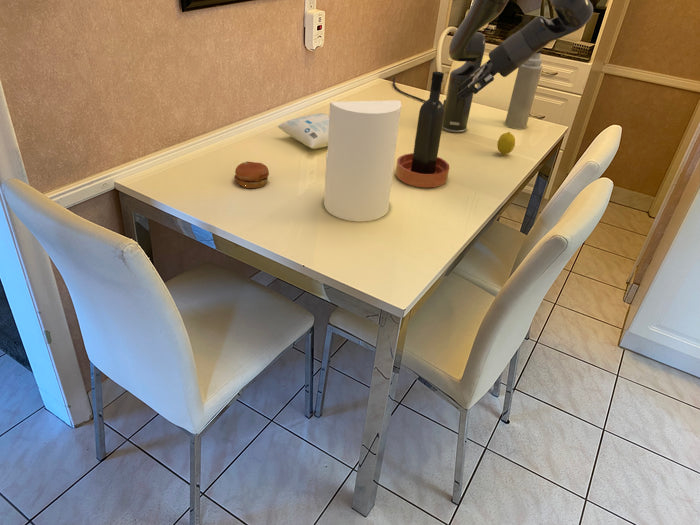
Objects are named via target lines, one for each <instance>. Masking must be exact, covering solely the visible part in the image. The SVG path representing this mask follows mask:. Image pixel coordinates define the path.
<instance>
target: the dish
mask: <svg viewBox="0 0 700 525" xmlns="http://www.w3.org/2000/svg"><path fill="white" fill-rule="evenodd" d="M412 159H413V152H410V153H404V154H402V155H400V156H399V157H398V158H397V159H396V166H395V176H396V178H397V179H398V180H399V181H401V182H403V183H405V184H407V185H410V186H413V187H418V188H436V187H440V186H442V185H444V184H446V183H447V181H448V178H449V172H450V164H449V163H448V161H446V160H445V159H443V158H442V157H439V156H437V161H436V167H435V172H434V174H422V173H417V172H412V171H411V166H412Z"/></svg>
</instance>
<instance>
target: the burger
mask: <svg viewBox="0 0 700 525" xmlns="http://www.w3.org/2000/svg"><path fill="white" fill-rule="evenodd" d="M234 173H235V175H233V176H234V180H235V182H236V183H237V184H238V185H239V186H241V187H242V188H247V189H257V188H262V187H264V186H265V185H266V184H267V182H268V178H269V176H270V172H269V169H268V167H267V165H265V164H264V163H262V162H255V161H245V162H244V161H243V162H240V163H239V164H238V165H237V166H236V167H235V171H234ZM245 185H246V186H245Z"/></svg>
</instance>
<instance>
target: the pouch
mask: <svg viewBox="0 0 700 525" xmlns="http://www.w3.org/2000/svg"><path fill="white" fill-rule="evenodd" d="M276 127H277V128H278V129H279V130H282V132H283V133H285V134H287V135H288V136H289V137H291V138H292V139H294V140H297V141H298V142H299V143H302V144H303V145H305V146H306V147H308V148H310V149H313V150H317V149H322V148H325V147H328V133H329V115H328V114H327V113H322V112H321V113H314V114H313V113H312V114H310V115H304V116H300V117H296V118H292V119H289V120H286V121H284V122H281V123H279V124H277V125H276Z"/></svg>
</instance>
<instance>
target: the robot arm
mask: <svg viewBox="0 0 700 525" xmlns="http://www.w3.org/2000/svg"><path fill="white" fill-rule="evenodd" d="M509 1H510V0H473V3H472V4H471V6H470V8H469V10H468V12H467V14H466V15H465V17H464V19H463V20H462V22H461V23H460V24H459V26H458V28H457V29H456V31H455V32H454V34H453V36H452V38H451V40H450V43H449V46H448V54H449V57H450V59H451V60H453V61H455V62H463V64H462V65H461V66H460V67H457V68H455V69H452V71H451V72H450V73H449V78H448V83H447V84H448V85H447V91H446V96H445V99H444V100H443V103H442V104H443V106H444V110H445V115H444V120H443V126H442V130H443V131H446V132H449V133H453V134H454V133H455V134H458V133H459V134H460V133H461V134H462V133H465V132H466V131H467V130H468V129H467V128H468V122H469V118H470V113H471V108H472V103H473V98H474V95H476V94H478V93H479V92H480V91H481V90H483V89H484V88H486V86H488V85H489V84H490V83H492V82H494V81H495V76H496V75H497V74H499V75H500V76H501V77H502V78H506V77H508V76H509V75H510V74H512V73H513V72H514V71H516V70H518V68H519V67H520V66H521V65H523V64H524V63H525V62H527V61H528V60H529V59H530V58H531V57H532V56H533V55H534V54H536V53H537V52H538V51H540V50H543V49H544V48H545V47H546V46H548V45H549V44H550V43H552V42H555V41H557V40H559V39H561V38H564V37H566V36H569V35H570V34H572V33H575V32H577V31H579V30H580V29H582V28H583V27H584V26H586V24H587V23H588V22H589V21H590V20H591V18H592V16H593V14H594V6H593V3H592V2H591V1H590V0H549V3H550V5H551V7H552V10H553V12H554V13H555V14H556V16H555V17H554V18H550V19H548V18H546V17H544V16H542V15H539V16H536V17H534V18H533V19H531V20H530V21H529V22H528V23H527V24H525V25H524V26H523V27H522V28H520V29H519V30H517V31H516V32H515V33H513V34H511V35H510V36H508V37H507V38H506V39H505V40H503V41H502V42H501V43H500V44H498V45H497V46H496V47H495V48H493V49H491V51H490V52H489V53H488V58H489V59H488V60H487V61H486V62H485V63H483V64H482V62H483V58H484V55H485V50H486V38H485V35H484V34H483V33H482V32H478V31H480V30H481V29H483V28H484V27H485V26H487V25H488V24H489V23H491V22H492V21H493V20H495V19H496V18H497V17H499V15H501V14H502V12H503V11H504V9H505V7H506V6H507V4H508V2H509ZM392 84H393V87H394V89H395V90H396V91H398V92H400V94H404V95H405V96H408V97H410V98H413V99H415V100H418V101H421V102H423V103H424V102H425V101H427V99H423V98H421V97H418V96H415V95H413V94H409V93H407V92H405V91H403V90H401V89H399V88H398V87H397V86H396V78H395V77H393V78H392Z"/></svg>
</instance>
